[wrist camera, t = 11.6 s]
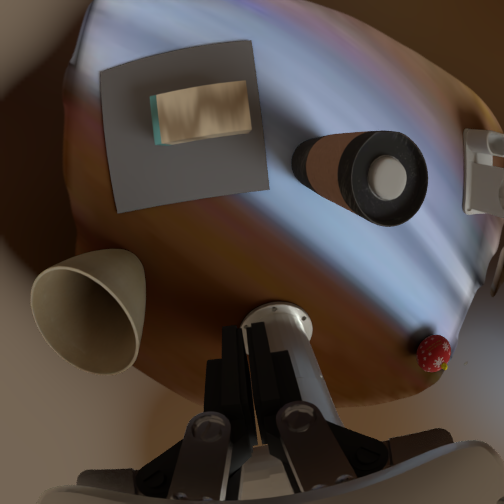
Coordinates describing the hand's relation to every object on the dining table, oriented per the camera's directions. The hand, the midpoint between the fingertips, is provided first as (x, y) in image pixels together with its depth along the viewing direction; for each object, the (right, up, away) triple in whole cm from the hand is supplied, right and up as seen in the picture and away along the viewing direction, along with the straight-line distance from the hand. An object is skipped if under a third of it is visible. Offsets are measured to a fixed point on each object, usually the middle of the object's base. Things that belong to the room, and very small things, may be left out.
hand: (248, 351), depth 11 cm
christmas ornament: (+40, -17, +41) cm, 60 cm away
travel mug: (+9, +16, +26) cm, 32 cm away
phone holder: (+45, +20, +28) cm, 57 cm away
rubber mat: (-10, +21, +22) cm, 32 cm away
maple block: (-11, +20, +19) cm, 30 cm away
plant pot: (-20, +1, +29) cm, 36 cm away
